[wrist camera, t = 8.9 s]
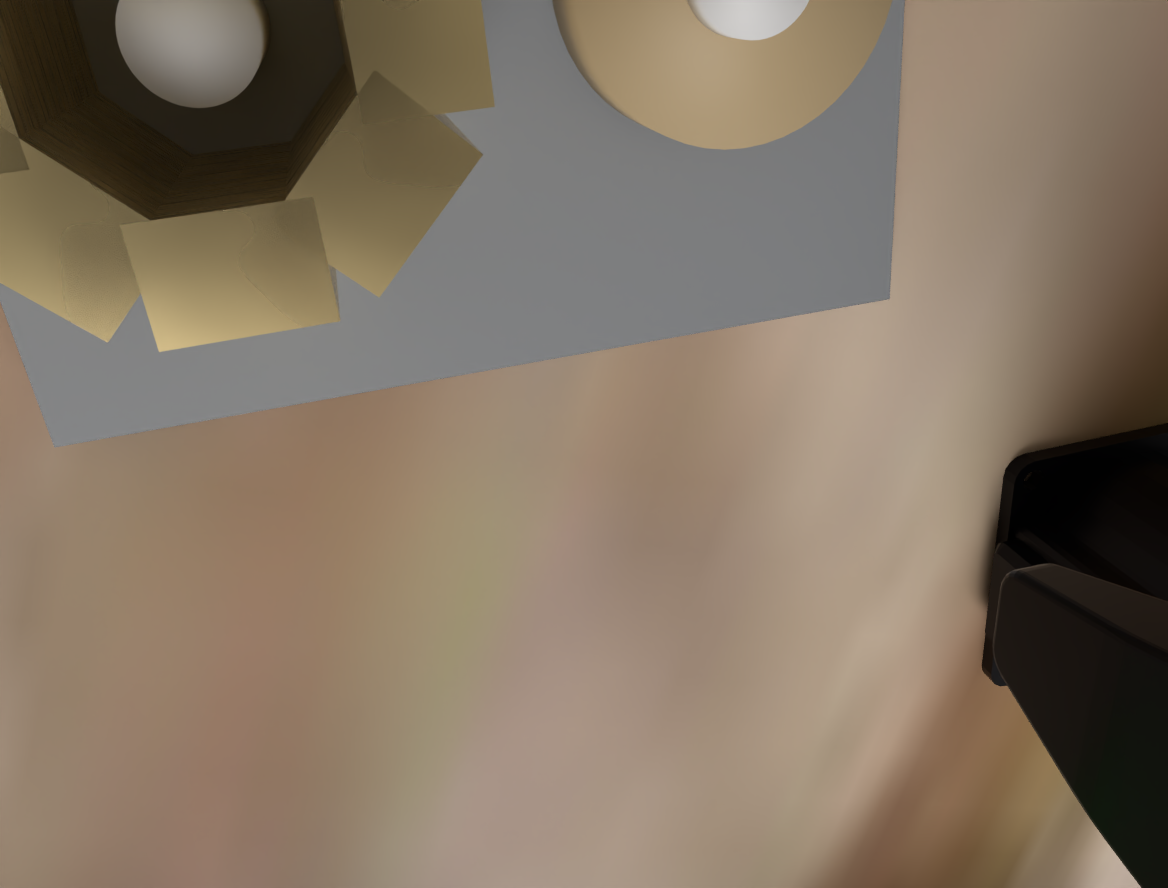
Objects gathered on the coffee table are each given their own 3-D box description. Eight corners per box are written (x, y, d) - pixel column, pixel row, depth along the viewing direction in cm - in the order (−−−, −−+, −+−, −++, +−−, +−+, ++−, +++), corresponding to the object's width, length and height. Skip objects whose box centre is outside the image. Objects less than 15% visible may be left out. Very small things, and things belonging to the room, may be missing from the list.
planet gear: (396, -267, 13) (433, -366, 9) (468, 213, 16) (518, 291, 12) (-131, -231, 12) (-341, -327, 8) (48, 278, 15) (-44, 386, 11)
